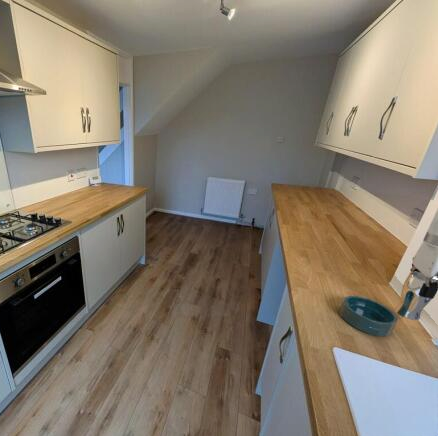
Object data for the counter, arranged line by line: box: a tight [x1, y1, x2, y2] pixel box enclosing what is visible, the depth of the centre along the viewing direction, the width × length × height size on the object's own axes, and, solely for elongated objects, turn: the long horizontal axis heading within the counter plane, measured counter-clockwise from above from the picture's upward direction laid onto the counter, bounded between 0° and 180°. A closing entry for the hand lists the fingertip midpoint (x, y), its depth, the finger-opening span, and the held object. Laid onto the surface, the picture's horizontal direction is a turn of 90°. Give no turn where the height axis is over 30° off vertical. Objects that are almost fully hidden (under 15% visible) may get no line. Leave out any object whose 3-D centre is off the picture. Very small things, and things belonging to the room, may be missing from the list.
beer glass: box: [393, 271, 437, 322], centre depth 78 cm, size 7×7×15 cm
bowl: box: [339, 295, 398, 337], centre depth 81 cm, size 14×14×6 cm
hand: (418, 289), depth 77 cm, fingers closed on beer glass, 7 cm apart
